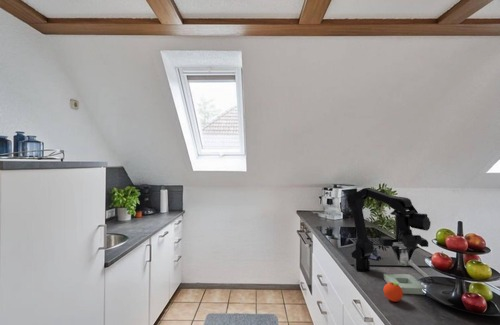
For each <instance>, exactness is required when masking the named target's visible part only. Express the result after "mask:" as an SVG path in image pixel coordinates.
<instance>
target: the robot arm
mask: <svg viewBox="0 0 500 325" xmlns="http://www.w3.org/2000/svg"><path fill="white" fill-rule="evenodd" d="M368 198H371V199H373V200H376V201H378V202H381V203H383V204H386V205H388V206H389V207H390V208H391V209H393V211H391V212H390V214H389V215H393V216H394V218H395V219H394V220H395V224H394V227H393V228H394V229H395V235H394V238H391V237H389V236H380V237H379V238H378V242H379V243H380V245H382V246H383V247H391V249H392V251H393V253H394V256H395V257H396V260H397V262H398V261H399V248H400V247H401V246H399V244H403V247H405V248H408V258H409V261H410V259H411V260H412V256H413V254H414V252H415V251H416V250H417V249H420V247H421V248H423V247H425V248H429V241H428V240H427V239H425V238H424V237H422V236H421V235H420V234H414V235H413V230H412V229H417V230H421V231H425V232H426V231H429V230H430V228H431V221H430V218H429V217H428V214H427V213H419V212H418V211H417V209H416V208H415V206H414V205H413V203H412V200H411V199H410V198H408V197H404V196H403V197H402V196H396V195H395V196H394V195H391V194H388V193H385V192H382V191H379V190H376V189H373V188H371V187H363V188H362V189H360V190H358V191H355V192H353V193H350V194H348V195H347V197H346V202H347V205H348V207H349V208H350V209H351V211H352V215H353V222H354V226H355V232H356V241H355V244H354V245H355V250H353V251H352V252H351V257H352V258H353V259H354V260H353V261H354V265H353V268H354V269H355V270H356V272H371V270H370V266H371V265H370V260H369V258H368V257H370V256H371V254H372V253H373V249H375V247H374V242H373V240H370V239H369V238H368V234H367V228H366V223H365V217H364V211H363V208H364V206H365V201H366V200H367V199H368ZM371 257H372V256H371Z"/></svg>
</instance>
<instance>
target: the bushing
mask: <svg viewBox="0 0 500 325" xmlns="http://www.w3.org/2000/svg"><path fill="white" fill-rule="evenodd" d="M399 247H400V248H399V261H398V260H397V262H398V265H400V266H405V267H407V266H410V265H409V258H408V248H407V247H405V246H399Z"/></svg>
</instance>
